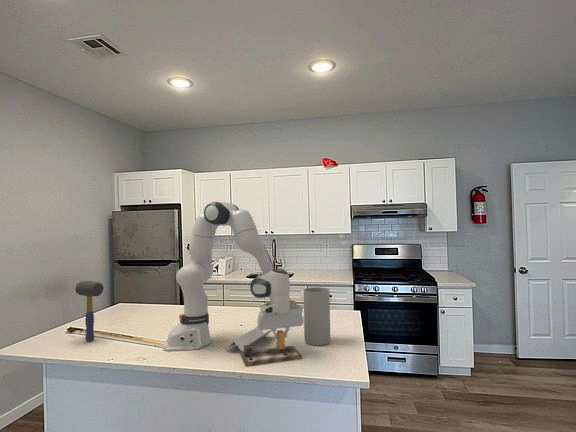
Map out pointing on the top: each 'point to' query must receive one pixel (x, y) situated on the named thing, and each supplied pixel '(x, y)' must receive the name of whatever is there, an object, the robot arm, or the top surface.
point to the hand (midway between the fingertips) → (280, 337)
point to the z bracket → (249, 338)
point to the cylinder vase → (316, 316)
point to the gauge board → (268, 355)
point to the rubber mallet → (89, 303)
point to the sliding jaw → (281, 341)
